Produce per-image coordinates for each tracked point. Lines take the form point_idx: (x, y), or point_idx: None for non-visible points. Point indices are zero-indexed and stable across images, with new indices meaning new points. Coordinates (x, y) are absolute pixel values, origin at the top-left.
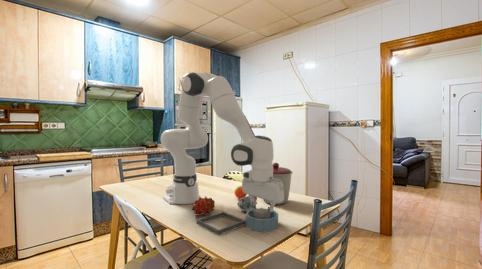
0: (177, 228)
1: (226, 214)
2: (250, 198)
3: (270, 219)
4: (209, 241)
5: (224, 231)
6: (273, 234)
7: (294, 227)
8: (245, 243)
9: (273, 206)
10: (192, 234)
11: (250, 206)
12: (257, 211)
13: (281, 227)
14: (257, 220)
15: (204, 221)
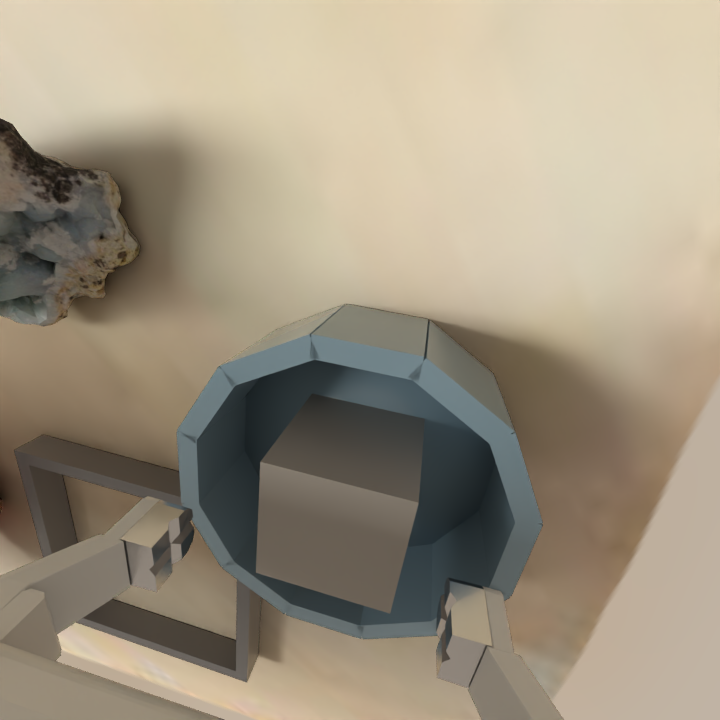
0: (82, 654)
1: (70, 471)
2: (68, 625)
3: None
4: (278, 705)
5: (256, 635)
6: (534, 549)
7: (687, 342)
8: (431, 684)
9: (527, 690)
10: (173, 677)
11: (39, 243)
12: (306, 579)
13: (547, 411)
14: (390, 628)
15: None
